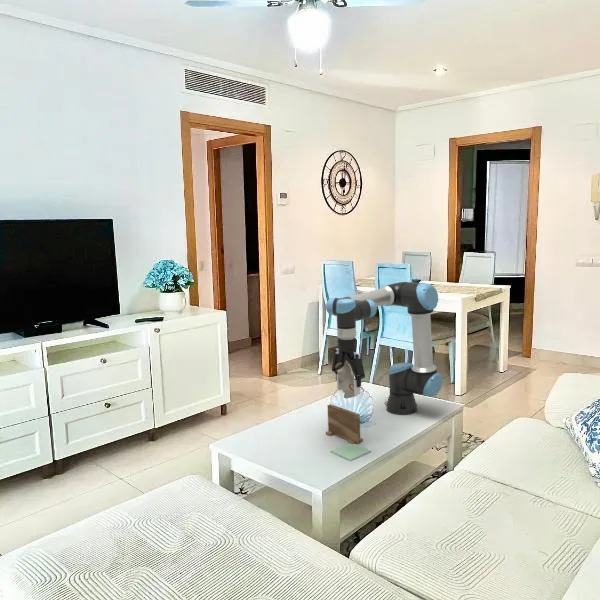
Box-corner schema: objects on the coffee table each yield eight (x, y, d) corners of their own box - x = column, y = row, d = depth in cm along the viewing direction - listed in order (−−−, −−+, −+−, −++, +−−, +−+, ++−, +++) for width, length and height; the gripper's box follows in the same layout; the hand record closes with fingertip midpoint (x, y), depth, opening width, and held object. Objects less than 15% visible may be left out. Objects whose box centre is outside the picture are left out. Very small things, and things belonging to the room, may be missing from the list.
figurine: (344, 392, 226) (343, 357, 224) (364, 396, 220) (363, 361, 217) (332, 398, 219) (330, 362, 217) (352, 403, 213) (351, 366, 211)
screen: (334, 430, 246) (333, 403, 244) (363, 441, 232) (362, 413, 230) (325, 434, 242) (324, 406, 240) (353, 446, 229) (353, 416, 227)
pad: (350, 443, 231) (350, 441, 231) (371, 451, 222) (371, 450, 222) (330, 451, 224) (330, 450, 224) (350, 461, 215) (350, 459, 215)
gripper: (321, 335, 222) (323, 388, 225) (360, 343, 205) (361, 400, 208) (334, 332, 226) (336, 383, 230) (373, 340, 210) (375, 395, 213)
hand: (348, 391), depth 219 cm, fingers closed on figurine, 9 cm apart
